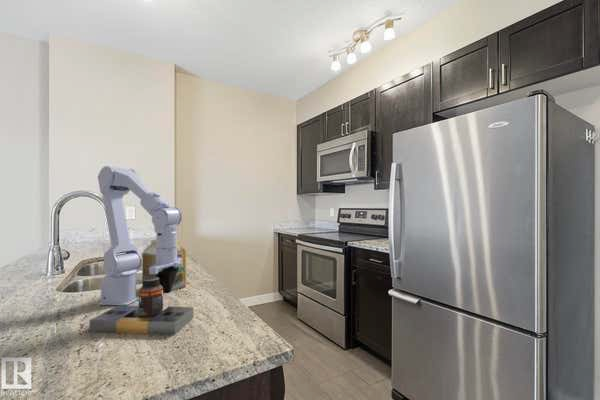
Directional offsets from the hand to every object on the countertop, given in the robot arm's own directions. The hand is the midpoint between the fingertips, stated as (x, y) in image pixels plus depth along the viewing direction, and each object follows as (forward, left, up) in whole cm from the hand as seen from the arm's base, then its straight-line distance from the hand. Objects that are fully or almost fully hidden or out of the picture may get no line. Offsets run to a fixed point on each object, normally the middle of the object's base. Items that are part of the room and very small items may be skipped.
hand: (166, 292), depth 86 cm
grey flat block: (0, -11, -5) cm, 12 cm away
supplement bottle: (0, -8, -5) cm, 10 cm away
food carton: (-12, +20, -5) cm, 24 cm away
